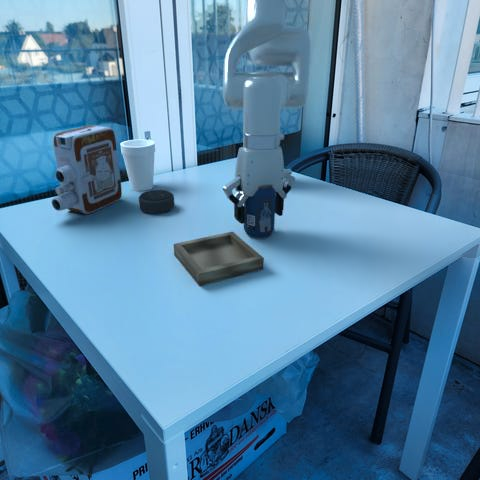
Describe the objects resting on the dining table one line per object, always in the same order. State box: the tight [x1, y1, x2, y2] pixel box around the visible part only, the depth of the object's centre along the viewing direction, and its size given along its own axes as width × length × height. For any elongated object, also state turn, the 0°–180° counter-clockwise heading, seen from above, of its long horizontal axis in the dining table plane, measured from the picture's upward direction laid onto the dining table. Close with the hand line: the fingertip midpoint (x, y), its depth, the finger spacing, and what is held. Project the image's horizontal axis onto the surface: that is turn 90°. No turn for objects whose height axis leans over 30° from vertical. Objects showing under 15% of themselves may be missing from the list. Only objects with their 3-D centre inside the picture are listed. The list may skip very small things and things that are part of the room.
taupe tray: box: [173, 231, 265, 287], centre depth 84 cm, size 13×13×2 cm
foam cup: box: [120, 138, 156, 192], centre depth 122 cm, size 10×9×13 cm
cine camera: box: [51, 124, 123, 215], centre depth 106 cm, size 9×19×20 cm, turn 152°
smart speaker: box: [138, 189, 175, 215], centre depth 110 cm, size 9×9×4 cm
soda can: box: [243, 185, 276, 239], centre depth 95 cm, size 7×7×12 cm
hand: (259, 217), depth 96 cm, fingers open, 9 cm apart
